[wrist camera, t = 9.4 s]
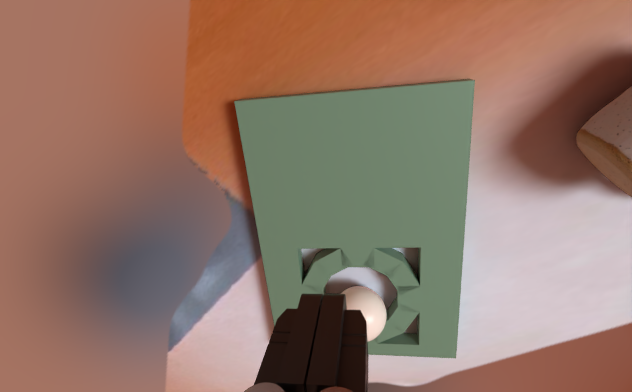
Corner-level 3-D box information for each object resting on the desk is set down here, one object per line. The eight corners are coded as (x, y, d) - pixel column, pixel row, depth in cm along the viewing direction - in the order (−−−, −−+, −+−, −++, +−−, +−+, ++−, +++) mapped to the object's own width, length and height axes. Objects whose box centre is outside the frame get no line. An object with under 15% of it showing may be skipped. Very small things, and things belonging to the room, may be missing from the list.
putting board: (240, 99, 29) (234, 101, 27) (469, 79, 26) (474, 80, 24) (282, 339, 38) (278, 350, 37) (452, 346, 35) (456, 358, 34)
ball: (335, 341, 34) (336, 289, 36) (387, 343, 33) (385, 290, 35) (328, 341, 29) (329, 282, 31) (388, 344, 29) (385, 282, 30)
